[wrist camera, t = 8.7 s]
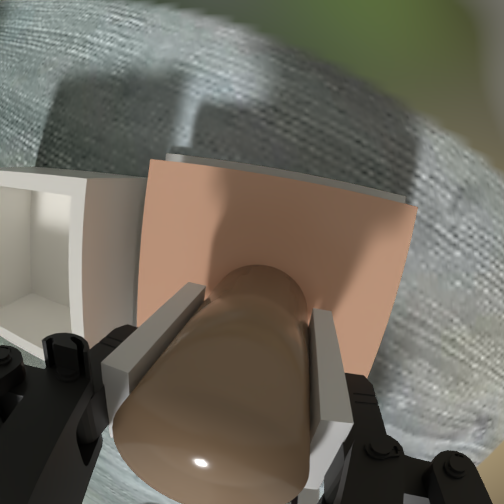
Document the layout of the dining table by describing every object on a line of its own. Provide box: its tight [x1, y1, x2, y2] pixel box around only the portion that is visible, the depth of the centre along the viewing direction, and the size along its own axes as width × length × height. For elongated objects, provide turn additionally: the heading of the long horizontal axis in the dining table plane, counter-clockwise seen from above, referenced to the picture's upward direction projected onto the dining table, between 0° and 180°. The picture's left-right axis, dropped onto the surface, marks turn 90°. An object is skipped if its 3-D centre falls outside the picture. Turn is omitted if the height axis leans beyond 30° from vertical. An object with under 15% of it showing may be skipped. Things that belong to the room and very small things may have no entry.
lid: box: [112, 159, 418, 504], centre depth 10 cm, size 12×12×10 cm
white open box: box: [0, 167, 148, 361], centre depth 16 cm, size 10×10×6 cm
